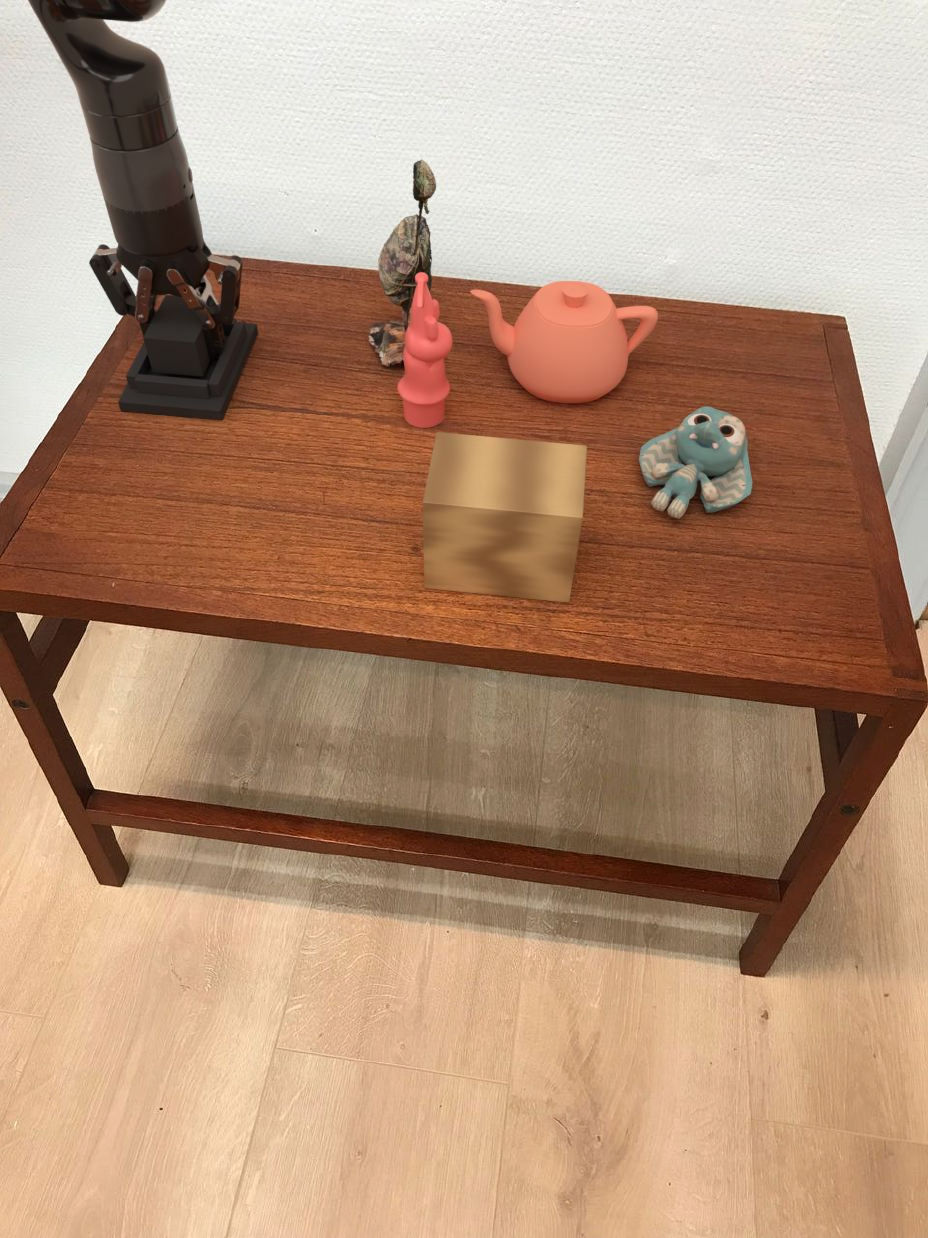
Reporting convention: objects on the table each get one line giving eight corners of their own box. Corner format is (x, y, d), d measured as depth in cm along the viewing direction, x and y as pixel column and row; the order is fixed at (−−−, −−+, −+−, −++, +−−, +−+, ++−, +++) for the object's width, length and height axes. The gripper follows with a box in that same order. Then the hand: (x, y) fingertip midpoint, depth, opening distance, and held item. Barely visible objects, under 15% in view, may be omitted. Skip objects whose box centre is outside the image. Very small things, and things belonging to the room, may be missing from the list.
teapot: (650, 413, 95) (668, 330, 88) (465, 406, 95) (467, 322, 88) (642, 338, 102) (657, 255, 95) (470, 331, 103) (472, 248, 95)
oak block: (424, 588, 81) (422, 502, 73) (437, 519, 86) (436, 431, 78) (569, 603, 80) (583, 517, 72) (573, 532, 85) (587, 445, 77)
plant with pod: (451, 310, 105) (452, 120, 89) (440, 376, 98) (439, 182, 82) (376, 305, 105) (364, 115, 90) (359, 370, 98) (344, 176, 83)
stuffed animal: (612, 457, 83) (678, 364, 87) (608, 506, 89) (671, 417, 94) (728, 508, 79) (791, 409, 84) (716, 556, 86) (776, 462, 90)
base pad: (222, 420, 93) (217, 398, 91) (120, 411, 94) (113, 388, 92) (258, 333, 102) (254, 310, 100) (165, 325, 103) (159, 302, 100)
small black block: (203, 376, 94) (195, 341, 91) (152, 372, 94) (142, 337, 91) (222, 333, 98) (215, 298, 95) (174, 329, 99) (165, 294, 95)
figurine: (451, 433, 93) (452, 294, 81) (396, 432, 93) (390, 292, 81) (452, 399, 96) (454, 259, 84) (400, 397, 96) (394, 258, 84)
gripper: (48, 200, 81) (104, 369, 94) (217, 213, 80) (249, 382, 93) (80, 156, 86) (129, 323, 99) (241, 168, 85) (268, 335, 98)
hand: (188, 351), depth 96 cm, fingers closed on small black block, 5 cm apart
